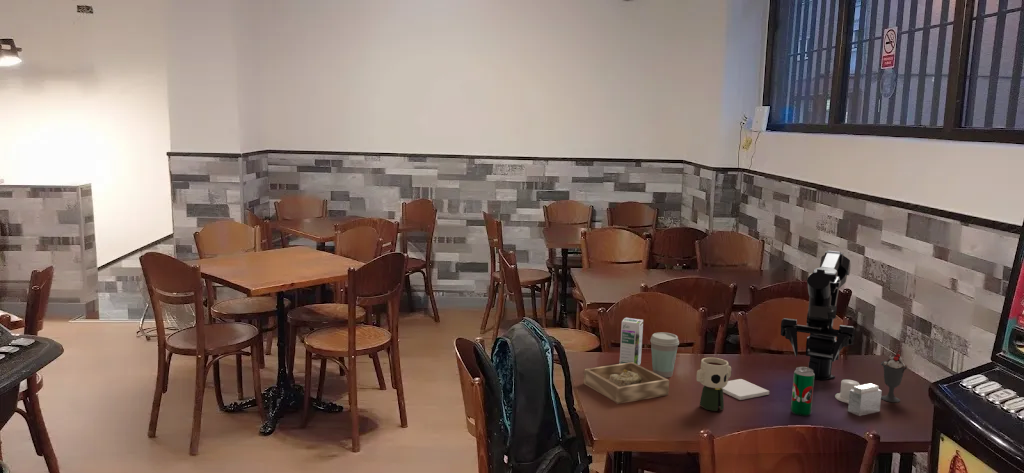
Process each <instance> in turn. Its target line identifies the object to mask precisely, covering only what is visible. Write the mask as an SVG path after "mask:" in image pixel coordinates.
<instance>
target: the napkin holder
mask: <svg viewBox="0 0 1024 473" xmlns="http://www.w3.org/2000/svg"><path fill="white" fill-rule="evenodd" d="M879 387H880V386H879V385H877V384H874V383H871V382H870V383H864V384H859V386H854V389H853V390H850V394H849V403H847V404H848V406H847V412H849V413H852V414H853V415H856V416H859V417H862V416H865V415H870V414H875V413H879V412H880V411H881V402H882V399H881V396H882V392H883V391H882V390H881V389H879Z"/></svg>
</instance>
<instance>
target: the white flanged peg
mask: <svg viewBox="0 0 1024 473" xmlns="http://www.w3.org/2000/svg"><path fill="white" fill-rule="evenodd" d="M859 385H860V383H859V381H856V380H852V379H842V380H841V381H840V392H839V393H836V394H835V395H834V398H835V399H836V400H837V401H840V402H842V403H846V404H849V394H850V390H853V389H854V386H859Z"/></svg>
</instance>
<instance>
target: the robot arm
mask: <svg viewBox="0 0 1024 473" xmlns="http://www.w3.org/2000/svg"><path fill="white" fill-rule="evenodd" d="M850 273H851V260H850V259H849V258H848V257H846V256H845V255H844V252H841V251H838V250H837V251H836V250H825V251H824V255H822V256H821V258H820V263H819V267H816V268H814V270H813V271H812V273H810V274H809V276H808V277H807V280H806V285H807V291H808V292H807V293H808V296H809V298H808V308H807V314H806V325H803V324H797V323H798V319H794V318H787V317H786V318H785V317H783V318H782V319H781V322H780V336H782V337H784V338H785V339H786V340H788V341H789V342H790V344H791V346H792V350H793V352H794V355H795V356H794V357H798V354H799V352H798V351H799V350H798V347H799V346H798V333H803V334H809V336H807V337H806V342H805V343H806V344H805V357H809V360H808V366H807V368H810V369H812V370H813V373H814V374H815V377H814V379H817V380H818V381H825V380H830V379H835V378H836V375H834V374H832V367H833V363H835V361H839V358H840V352H841V351H842V349H843V348H845V347H846V348H847V347H849V346H851V345H852V346H853V345H854V343H855V336H856V328H855V327H854V326H853V325H843V324H839V325H838V326H839V327H838V329H836V328H835V329H834V327H833V326H834V320H835V319H836V318H837V308H838V307H837V304H838V297H839V291H840V288H841V287H842V286H844V284H846V283H847V278H848V276H850Z"/></svg>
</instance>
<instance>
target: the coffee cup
mask: <svg viewBox="0 0 1024 473" xmlns="http://www.w3.org/2000/svg"><path fill="white" fill-rule="evenodd" d="M679 345H680V341H679V336H678V335H676V334H674V333H670V332H654V333H653V334H652V335H651V337H650V347H651V348H650V349H651V350H650V351H651V364H652V366H651V367H652V372H654V373H656V374H658V375H660V376H662V377H664V378H666V379H668V378H671V377H673V373H674V370H675V369H674V368H675V365H676V359H677V358H676V357H677V354H678V352H677V351H678V348H679V347H678V346H679Z"/></svg>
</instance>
